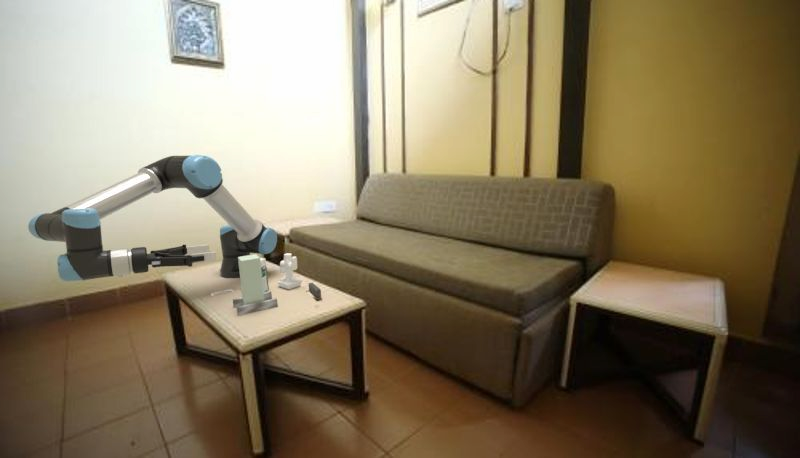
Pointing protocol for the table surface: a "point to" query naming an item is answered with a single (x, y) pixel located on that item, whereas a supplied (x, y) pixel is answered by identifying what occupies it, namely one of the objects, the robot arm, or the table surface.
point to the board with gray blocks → (270, 301)
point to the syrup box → (264, 275)
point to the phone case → (221, 292)
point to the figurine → (289, 272)
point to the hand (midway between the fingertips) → (212, 252)
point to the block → (251, 279)
